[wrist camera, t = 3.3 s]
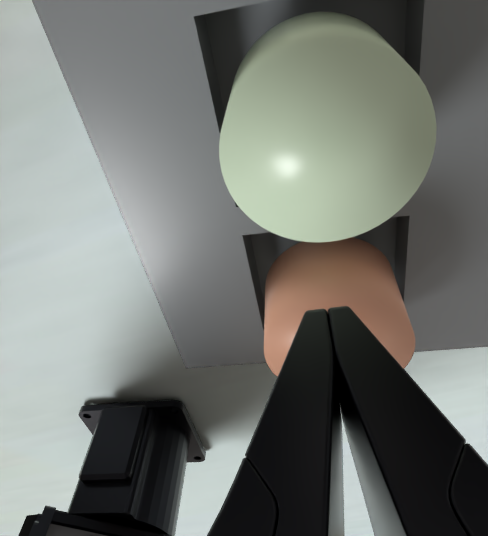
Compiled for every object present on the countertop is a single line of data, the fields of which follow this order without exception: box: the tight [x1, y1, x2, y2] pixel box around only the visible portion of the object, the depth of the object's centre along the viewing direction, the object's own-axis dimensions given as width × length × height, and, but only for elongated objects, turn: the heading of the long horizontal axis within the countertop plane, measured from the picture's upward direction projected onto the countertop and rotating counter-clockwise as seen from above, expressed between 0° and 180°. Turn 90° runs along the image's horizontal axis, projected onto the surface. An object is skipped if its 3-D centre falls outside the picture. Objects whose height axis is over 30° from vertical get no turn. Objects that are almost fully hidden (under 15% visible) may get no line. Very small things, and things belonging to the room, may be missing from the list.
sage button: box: [219, 12, 437, 242], centre depth 10 cm, size 5×5×3 cm
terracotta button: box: [264, 237, 415, 377], centre depth 14 cm, size 5×5×3 cm
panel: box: [32, 0, 488, 368], centre depth 13 cm, size 21×13×3 cm, turn 10°
